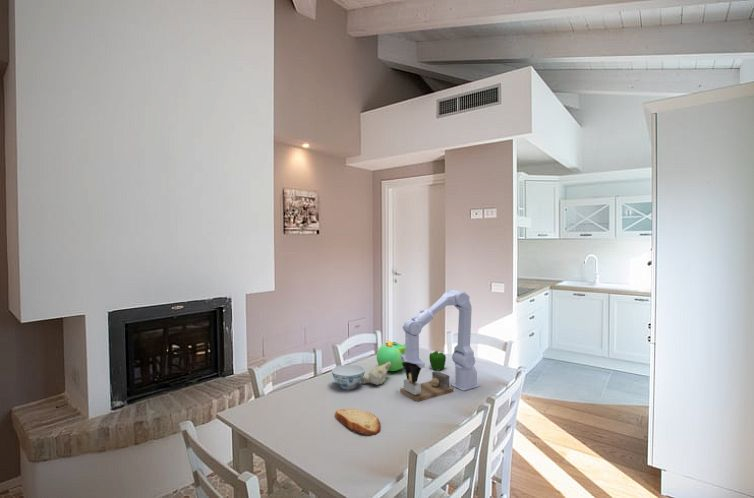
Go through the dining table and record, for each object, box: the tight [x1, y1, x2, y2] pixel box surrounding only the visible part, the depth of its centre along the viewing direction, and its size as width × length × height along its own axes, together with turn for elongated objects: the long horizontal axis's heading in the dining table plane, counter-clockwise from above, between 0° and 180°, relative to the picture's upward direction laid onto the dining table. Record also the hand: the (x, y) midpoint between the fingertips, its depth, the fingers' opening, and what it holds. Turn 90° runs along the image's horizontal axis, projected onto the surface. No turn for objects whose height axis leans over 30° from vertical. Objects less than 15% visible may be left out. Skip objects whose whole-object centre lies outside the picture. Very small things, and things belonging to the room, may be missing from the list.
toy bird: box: [376, 340, 405, 372], centre depth 197 cm, size 18×17×15 cm
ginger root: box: [360, 362, 391, 386], centre depth 179 cm, size 15×7×15 cm
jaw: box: [403, 372, 421, 395], centre depth 163 cm, size 3×8×8 cm, turn 32°
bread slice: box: [334, 408, 382, 436], centre depth 139 cm, size 18×18×4 cm
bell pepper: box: [428, 350, 447, 371], centre depth 198 cm, size 8×8×10 cm
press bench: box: [399, 370, 454, 403], centre depth 168 cm, size 20×12×6 cm, turn 122°
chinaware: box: [331, 364, 366, 390], centre depth 174 cm, size 15×15×8 cm
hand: (412, 380), depth 163 cm, fingers closed on jaw, 3 cm apart
